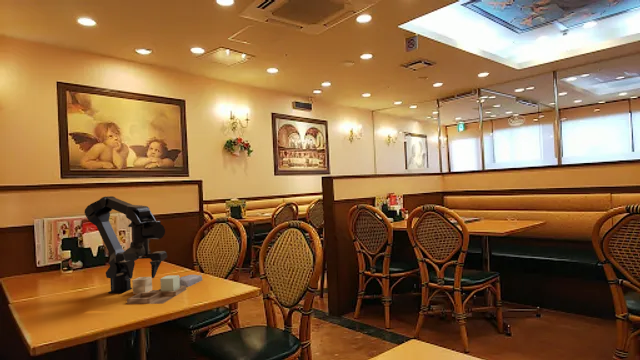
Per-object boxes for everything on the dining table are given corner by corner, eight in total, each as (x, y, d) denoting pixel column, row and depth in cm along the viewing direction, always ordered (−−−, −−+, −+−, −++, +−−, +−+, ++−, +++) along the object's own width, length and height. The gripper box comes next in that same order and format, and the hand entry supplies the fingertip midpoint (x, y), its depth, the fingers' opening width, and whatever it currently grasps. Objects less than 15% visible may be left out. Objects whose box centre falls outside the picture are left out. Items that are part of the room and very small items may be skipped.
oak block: (133, 295, 150) (132, 280, 150) (140, 292, 155) (139, 277, 155) (145, 295, 149) (144, 279, 149) (152, 291, 154) (151, 276, 154)
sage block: (161, 294, 146) (160, 278, 146) (167, 291, 151) (167, 275, 151) (173, 294, 145) (173, 278, 145) (179, 290, 150) (179, 275, 150)
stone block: (168, 293, 157) (190, 289, 155) (165, 282, 158) (187, 277, 156) (184, 287, 169) (204, 282, 167) (182, 276, 169) (202, 271, 167)
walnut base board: (125, 306, 136) (124, 299, 136) (152, 292, 153) (152, 286, 153) (163, 305, 134) (162, 299, 134) (186, 291, 152) (186, 285, 152)
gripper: (104, 242, 145) (106, 284, 145) (152, 240, 143) (153, 283, 143) (123, 238, 156) (124, 276, 156) (167, 236, 154) (168, 276, 154)
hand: (142, 278), depth 152 cm, fingers open, 9 cm apart
